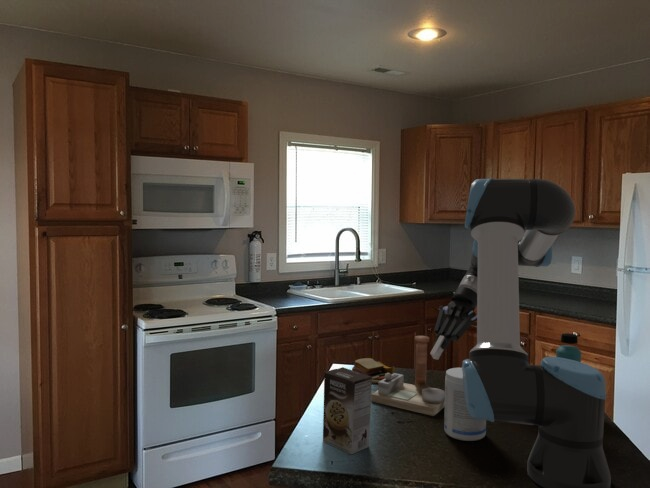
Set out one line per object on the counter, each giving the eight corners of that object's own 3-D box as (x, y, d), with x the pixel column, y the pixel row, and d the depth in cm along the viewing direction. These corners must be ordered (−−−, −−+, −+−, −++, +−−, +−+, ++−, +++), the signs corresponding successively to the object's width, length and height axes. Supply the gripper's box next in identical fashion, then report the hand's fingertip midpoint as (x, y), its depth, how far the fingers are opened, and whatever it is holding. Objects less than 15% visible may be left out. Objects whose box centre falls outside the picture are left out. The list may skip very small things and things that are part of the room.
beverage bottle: (577, 413, 143) (581, 338, 142) (550, 408, 147) (554, 334, 145) (581, 406, 149) (585, 333, 147) (554, 401, 152) (558, 330, 151)
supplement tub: (494, 436, 128) (496, 375, 127) (466, 446, 123) (468, 381, 122) (462, 422, 136) (464, 364, 135) (434, 430, 131) (437, 370, 130)
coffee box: (321, 441, 123) (322, 371, 122) (340, 433, 128) (342, 366, 127) (351, 455, 117) (353, 381, 116) (370, 446, 122) (372, 375, 120)
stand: (433, 416, 140) (434, 388, 139) (371, 401, 149) (371, 375, 149) (452, 400, 151) (453, 375, 151) (393, 387, 161) (394, 363, 161)
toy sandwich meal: (370, 387, 162) (371, 371, 161) (346, 374, 173) (346, 359, 173) (404, 381, 168) (404, 365, 168) (378, 369, 180) (378, 355, 179)
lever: (448, 402, 143) (450, 348, 142) (427, 403, 142) (429, 349, 141) (427, 384, 157) (429, 335, 156) (407, 386, 155) (409, 336, 154)
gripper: (446, 282, 170) (410, 344, 160) (483, 288, 160) (447, 354, 151) (455, 297, 174) (421, 358, 164) (492, 304, 164) (458, 369, 155)
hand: (434, 356), depth 158 cm, fingers closed
